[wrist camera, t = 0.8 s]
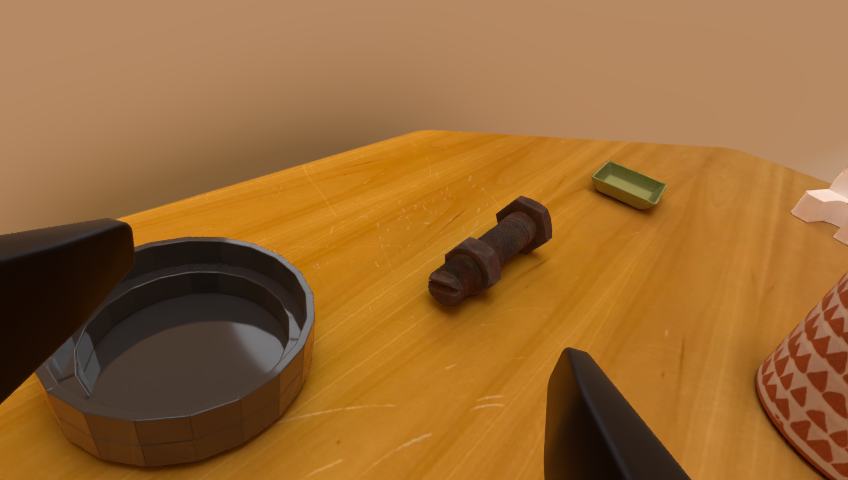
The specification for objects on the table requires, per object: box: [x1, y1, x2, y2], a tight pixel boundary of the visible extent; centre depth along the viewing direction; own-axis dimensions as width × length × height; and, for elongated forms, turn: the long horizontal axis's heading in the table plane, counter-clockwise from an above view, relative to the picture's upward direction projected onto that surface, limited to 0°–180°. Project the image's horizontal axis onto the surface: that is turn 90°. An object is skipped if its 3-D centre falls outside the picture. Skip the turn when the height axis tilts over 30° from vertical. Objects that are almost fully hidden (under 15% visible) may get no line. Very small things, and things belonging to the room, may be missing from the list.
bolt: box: [428, 196, 552, 307], centre depth 40 cm, size 6×5×15 cm
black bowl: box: [34, 237, 315, 467], centre depth 27 cm, size 14×14×4 cm
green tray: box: [592, 161, 667, 209], centre depth 62 cm, size 9×9×2 cm
